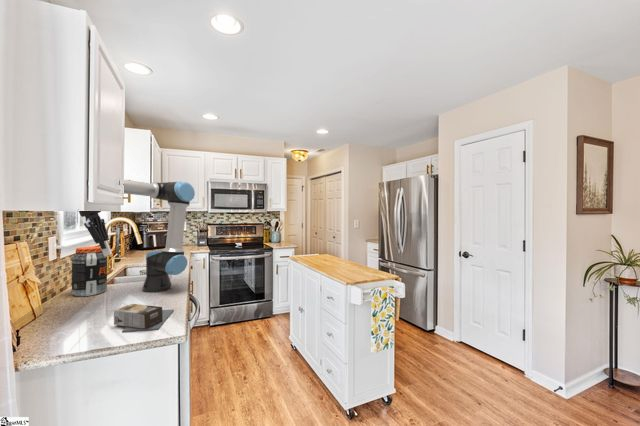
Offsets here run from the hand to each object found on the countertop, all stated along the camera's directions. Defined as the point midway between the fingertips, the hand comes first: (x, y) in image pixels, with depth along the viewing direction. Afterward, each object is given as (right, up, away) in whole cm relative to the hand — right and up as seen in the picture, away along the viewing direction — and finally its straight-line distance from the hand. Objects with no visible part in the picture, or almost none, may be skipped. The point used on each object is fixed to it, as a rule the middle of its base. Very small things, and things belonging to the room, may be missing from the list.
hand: (108, 255), depth 132 cm
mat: (+24, -27, -7) cm, 37 cm away
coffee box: (+13, -24, -10) cm, 29 cm away
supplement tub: (-33, -26, +31) cm, 52 cm away
